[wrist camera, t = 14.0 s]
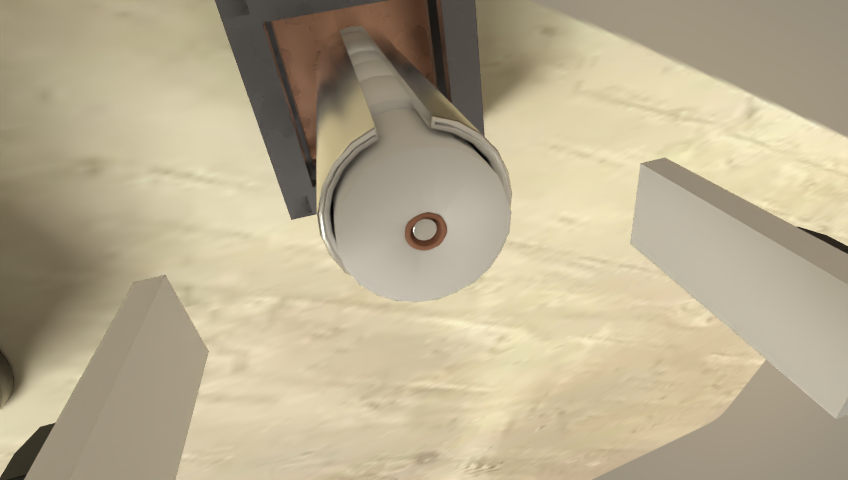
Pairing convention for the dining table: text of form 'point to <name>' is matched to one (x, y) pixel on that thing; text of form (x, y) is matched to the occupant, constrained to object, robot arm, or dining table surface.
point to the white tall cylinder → (402, 175)
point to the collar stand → (297, 59)
